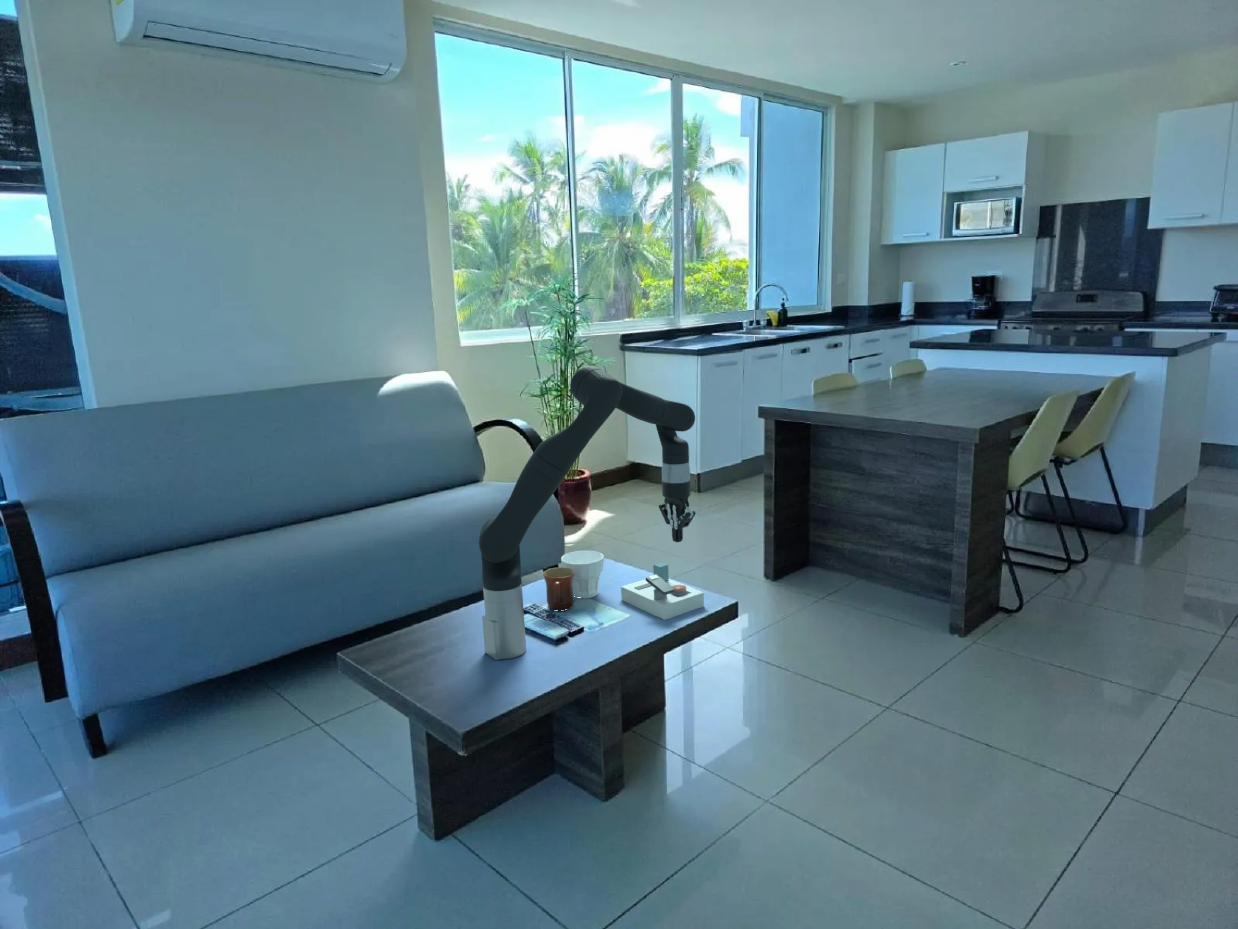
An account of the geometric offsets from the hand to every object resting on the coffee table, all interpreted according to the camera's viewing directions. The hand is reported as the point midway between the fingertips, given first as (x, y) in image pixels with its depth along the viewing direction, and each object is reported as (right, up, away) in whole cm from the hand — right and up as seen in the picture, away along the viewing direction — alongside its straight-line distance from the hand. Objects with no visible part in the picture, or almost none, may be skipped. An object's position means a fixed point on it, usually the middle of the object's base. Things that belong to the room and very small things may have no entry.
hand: (677, 541), depth 213 cm
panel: (-4, -18, +6) cm, 19 cm away
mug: (-32, -20, +5) cm, 38 cm away
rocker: (-5, -11, -2) cm, 13 cm away
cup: (-26, -17, +16) cm, 35 cm away
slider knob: (-4, -12, +12) cm, 17 cm away
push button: (+1, -18, +4) cm, 18 cm away
